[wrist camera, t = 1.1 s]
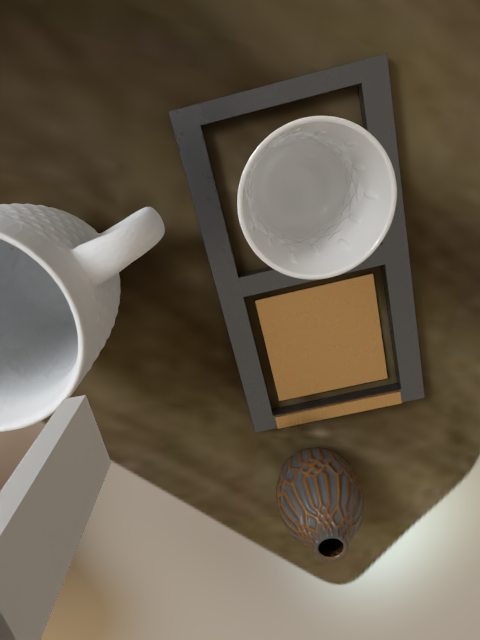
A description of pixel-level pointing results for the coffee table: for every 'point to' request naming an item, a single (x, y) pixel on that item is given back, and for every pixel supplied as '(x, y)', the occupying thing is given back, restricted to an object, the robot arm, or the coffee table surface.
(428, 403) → the coffee table surface
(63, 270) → the mug
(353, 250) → the white cup
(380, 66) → the grey double frame
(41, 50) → the coffee table surface
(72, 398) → the robot arm
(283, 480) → the vase
